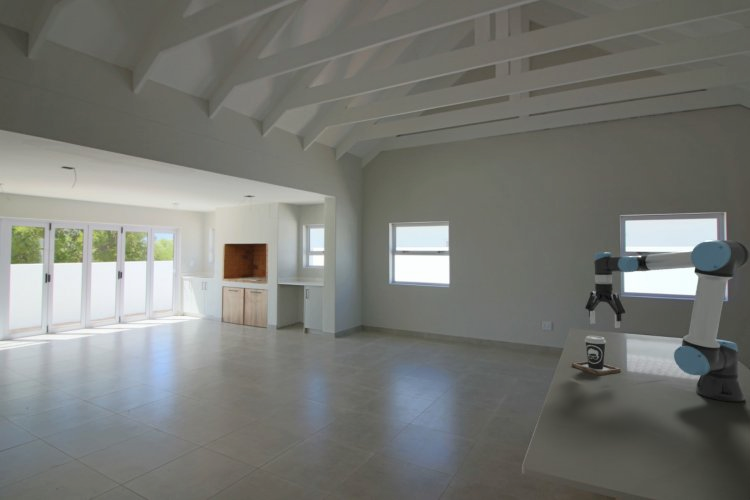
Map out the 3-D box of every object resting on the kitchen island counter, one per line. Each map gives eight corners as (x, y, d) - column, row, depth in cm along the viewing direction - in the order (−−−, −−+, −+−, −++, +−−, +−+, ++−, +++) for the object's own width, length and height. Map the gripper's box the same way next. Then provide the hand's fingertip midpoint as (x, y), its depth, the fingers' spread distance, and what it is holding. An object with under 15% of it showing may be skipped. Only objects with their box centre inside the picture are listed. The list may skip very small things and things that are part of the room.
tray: (620, 374, 193) (620, 368, 193) (599, 377, 188) (599, 371, 188) (592, 365, 208) (592, 360, 208) (572, 368, 203) (571, 363, 203)
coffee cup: (610, 370, 193) (610, 339, 193) (590, 370, 194) (590, 339, 194) (600, 364, 203) (599, 335, 203) (581, 364, 203) (580, 335, 203)
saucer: (617, 371, 194) (617, 369, 194) (597, 374, 190) (597, 372, 190) (594, 364, 207) (594, 362, 207) (575, 367, 202) (575, 365, 202)
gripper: (633, 284, 188) (634, 329, 188) (587, 281, 211) (588, 321, 211) (621, 284, 185) (623, 330, 185) (577, 282, 209) (578, 322, 208)
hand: (604, 325), depth 198 cm, fingers open, 13 cm apart
